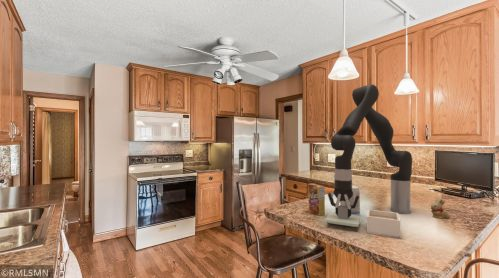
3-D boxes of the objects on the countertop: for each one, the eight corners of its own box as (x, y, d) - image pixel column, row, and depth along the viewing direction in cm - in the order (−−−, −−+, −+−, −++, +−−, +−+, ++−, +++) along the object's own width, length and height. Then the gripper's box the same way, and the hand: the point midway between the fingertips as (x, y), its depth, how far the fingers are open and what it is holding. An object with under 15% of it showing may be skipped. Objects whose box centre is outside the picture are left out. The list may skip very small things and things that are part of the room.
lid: (330, 215, 122) (330, 201, 122) (360, 219, 115) (360, 205, 116) (325, 223, 110) (325, 208, 110) (358, 228, 103) (358, 212, 104)
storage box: (367, 224, 113) (367, 209, 113) (398, 228, 108) (398, 212, 108) (366, 233, 103) (366, 216, 103) (400, 238, 97) (400, 220, 97)
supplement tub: (363, 215, 128) (363, 187, 128) (352, 218, 122) (352, 188, 122) (347, 210, 136) (347, 184, 136) (336, 213, 130) (336, 186, 131)
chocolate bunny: (430, 214, 129) (430, 195, 129) (449, 217, 125) (449, 197, 125) (431, 217, 124) (431, 197, 124) (451, 220, 120) (451, 199, 120)
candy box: (307, 211, 134) (307, 183, 135) (314, 210, 136) (314, 183, 136) (318, 216, 126) (318, 186, 126) (325, 215, 128) (325, 185, 128)
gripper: (360, 178, 113) (360, 216, 113) (328, 176, 119) (328, 212, 119) (359, 181, 106) (359, 220, 106) (325, 178, 113) (325, 216, 113)
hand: (343, 216), depth 113 cm, fingers closed on lid, 4 cm apart
